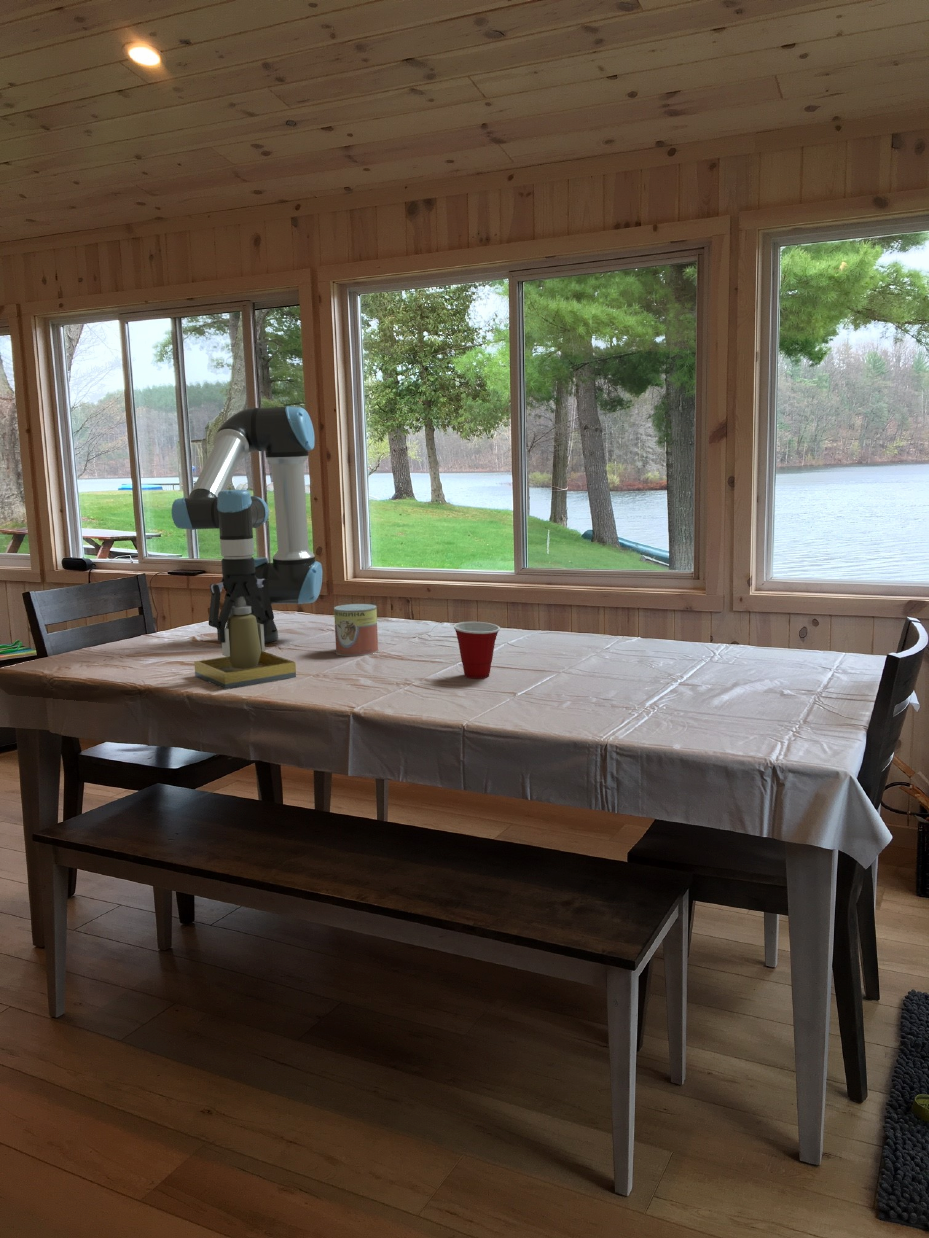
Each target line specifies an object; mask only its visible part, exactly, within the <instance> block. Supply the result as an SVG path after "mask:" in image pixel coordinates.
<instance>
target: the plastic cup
mask: <svg viewBox="0 0 929 1238" xmlns="http://www.w3.org/2000/svg"><path fill="white" fill-rule="evenodd" d="M453 629H454V632H455V635H456V639H457V643H458V648H459V653H460V654H459V655H460V659H461V663H462V668H463V674H464V676H465V677H466V678H468V679H484V678H488V677H490V674H491V670H492V669H491V668H492V662H493V656H494V650H495V642H496V640H497V636H498V633H499V631H500V630H501V626H499V625H497V624H495V623H490V622H484V621H483V622H482V621H462V622H461V621H460V622H457V623H455V624H453Z"/></svg>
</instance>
